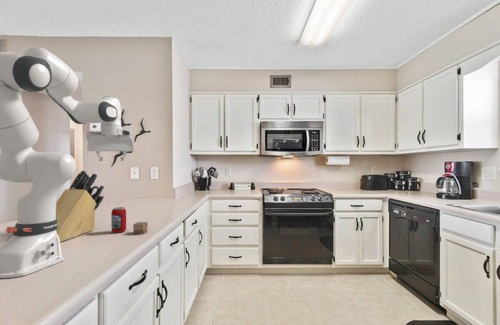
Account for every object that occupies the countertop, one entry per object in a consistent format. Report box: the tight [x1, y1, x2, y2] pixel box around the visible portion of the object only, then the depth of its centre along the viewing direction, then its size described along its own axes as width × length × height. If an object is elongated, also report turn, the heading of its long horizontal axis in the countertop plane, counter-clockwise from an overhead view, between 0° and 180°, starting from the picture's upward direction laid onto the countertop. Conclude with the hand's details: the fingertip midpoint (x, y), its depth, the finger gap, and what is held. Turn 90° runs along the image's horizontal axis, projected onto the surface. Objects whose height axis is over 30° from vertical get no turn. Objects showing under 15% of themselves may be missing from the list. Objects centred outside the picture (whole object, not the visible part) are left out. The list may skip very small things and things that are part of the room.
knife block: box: [56, 169, 105, 243], centre depth 138 cm, size 11×35×31 cm, turn 174°
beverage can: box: [110, 206, 127, 234], centre depth 143 cm, size 7×7×12 cm
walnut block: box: [132, 221, 149, 235], centre depth 140 cm, size 5×5×5 cm
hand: (111, 161), depth 135 cm, fingers open, 8 cm apart
